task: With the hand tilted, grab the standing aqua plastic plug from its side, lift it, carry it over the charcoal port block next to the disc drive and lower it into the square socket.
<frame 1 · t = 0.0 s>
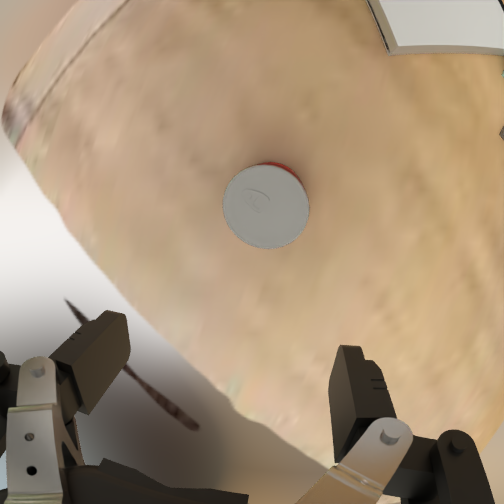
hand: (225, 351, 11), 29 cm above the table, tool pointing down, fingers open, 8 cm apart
disc drive: (432, 3, 27), on the table
canned food: (272, 192, 38), on the table
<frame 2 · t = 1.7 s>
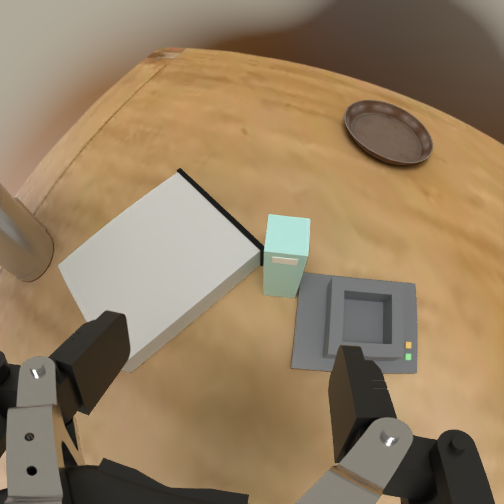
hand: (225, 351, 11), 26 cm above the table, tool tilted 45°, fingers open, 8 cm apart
plug: (280, 281, 39), on the table
plant saucer: (385, 139, 52), on the table
disc drive: (160, 272, 41), on the table
port block: (358, 325, 36), on the table
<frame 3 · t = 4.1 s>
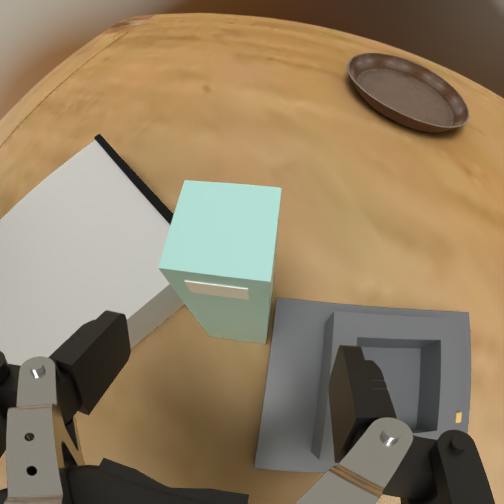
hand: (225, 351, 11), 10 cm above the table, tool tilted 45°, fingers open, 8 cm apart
plug: (241, 313, 22), on the table
plant saucer: (405, 101, 35), on the table
disc drive: (65, 291, 24), on the table
port block: (377, 390, 19), on the table
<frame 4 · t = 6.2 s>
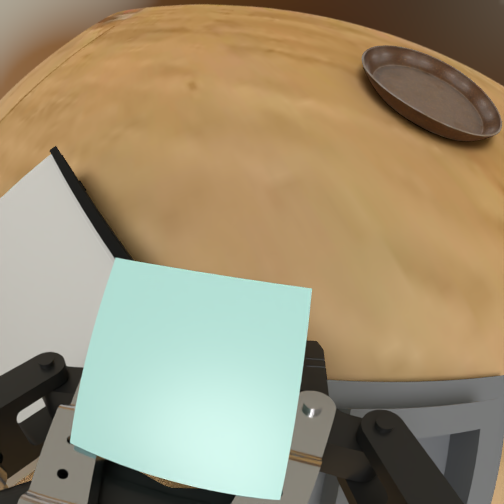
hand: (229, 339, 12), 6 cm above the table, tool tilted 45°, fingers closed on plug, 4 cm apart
plug: (231, 391, 16), on the table, touching gripper
plant saucer: (428, 102, 28), on the table
disc drive: (22, 341, 18), on the table
port block: (394, 478, 13), on the table
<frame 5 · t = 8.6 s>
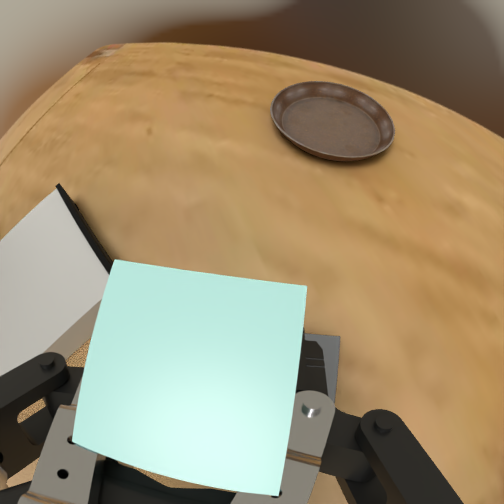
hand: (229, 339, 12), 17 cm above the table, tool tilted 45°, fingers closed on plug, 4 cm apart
plug: (233, 391, 16), point 11 cm above the table, touching gripper
plant saucer: (331, 129, 41), on the table
disc drive: (39, 304, 31), on the table
port block: (244, 392, 26), on the table
when the fingers open (8 cm above the table, at t = 10.9 s): plug drops 1 cm, resting on port block.
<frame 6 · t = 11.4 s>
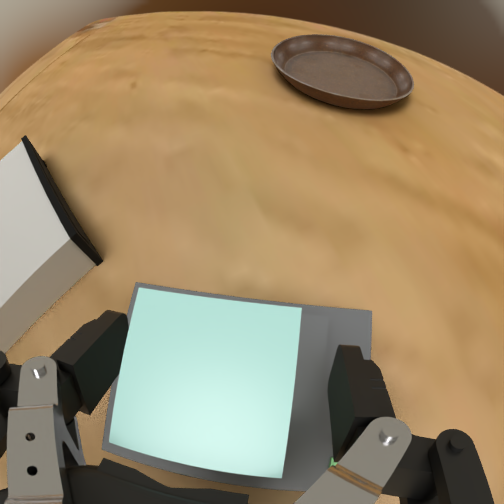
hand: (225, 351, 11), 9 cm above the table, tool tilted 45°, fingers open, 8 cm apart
plug: (239, 392, 17), point 1 cm above the table, touching port block
plant saucer: (341, 80, 34), on the table
port block: (237, 392, 18), on the table
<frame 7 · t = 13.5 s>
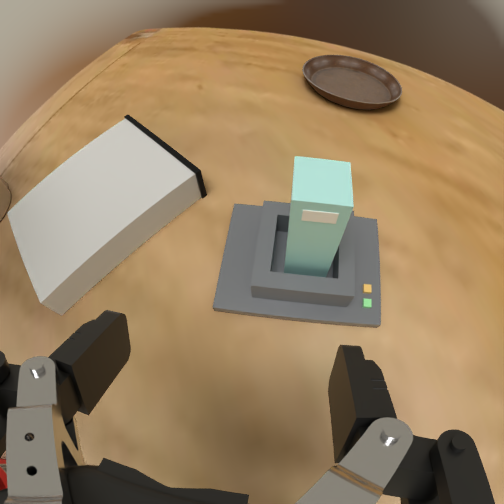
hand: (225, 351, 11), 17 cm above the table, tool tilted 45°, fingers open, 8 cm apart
plug: (305, 260, 31), point 1 cm above the table, touching port block
plant saucer: (350, 89, 48), on the table
disc drive: (102, 214, 37), on the table
port block: (302, 264, 32), on the table
canned food: (15, 486, 19), on the table
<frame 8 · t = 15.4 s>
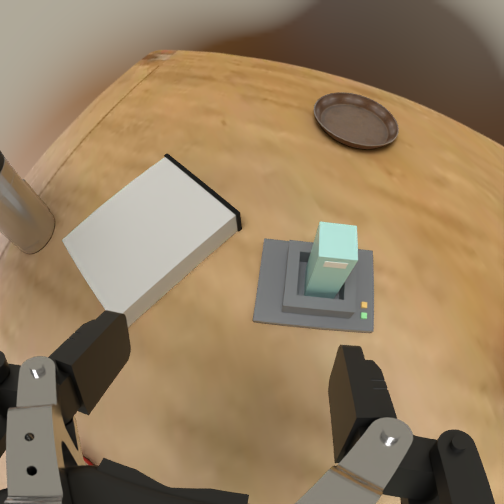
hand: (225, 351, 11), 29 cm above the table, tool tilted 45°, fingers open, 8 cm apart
plug: (319, 284, 41), point 1 cm above the table, touching port block
plant saucer: (354, 127, 58), on the table
disc drive: (151, 242, 47), on the table
port block: (316, 286, 42), on the table
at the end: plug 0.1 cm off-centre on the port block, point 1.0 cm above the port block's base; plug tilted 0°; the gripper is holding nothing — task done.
